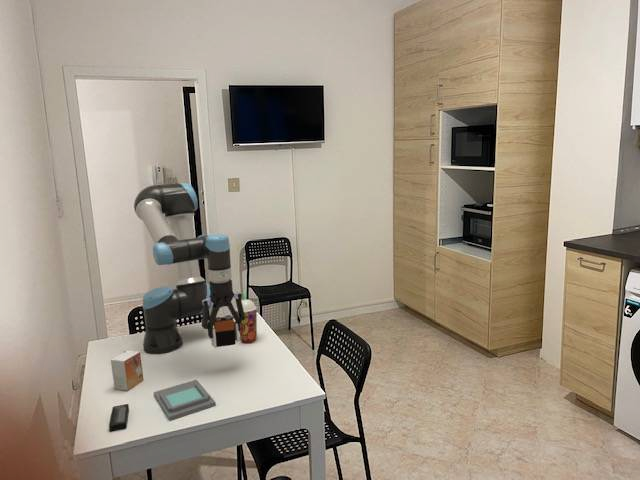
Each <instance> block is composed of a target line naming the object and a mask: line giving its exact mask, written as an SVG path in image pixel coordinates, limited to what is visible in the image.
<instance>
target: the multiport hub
mask: <svg viewBox="0 0 640 480" xmlns="http://www.w3.org/2000/svg"><path fill="white" fill-rule="evenodd" d="M129 414H130V406H129V403H126V404H120V405H115V406H112V409H111V414H110V419H109V422H108V423H109V424H108V427H109V432H110V433H111V432H116V431H121V430H126V429H127V427H128V423H129Z"/></svg>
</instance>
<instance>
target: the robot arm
mask: <svg viewBox="0 0 640 480" xmlns="http://www.w3.org/2000/svg"><path fill="white" fill-rule="evenodd" d="M133 208H134V212H135V215H136V216H137V217H138V218H139V219H140V220H141V221H142V222H143V223H144V226H145V227H146V230H147V232H148V233H149V235H150V237H151V238H152V239H151V240H152V241H153V243H154V244H153V246H152V254H153V255H152V256H153V259H154V262H155V264H156V265H158V266H165V265H168V266H169V265H174V264H176V269H177V274H178V281H177V282H176V284H175V286H176V288H175V289H174V288H172V287H171V286H164V287H163V286H160V287H156V288H153V289H150V290H149V291H147V292H146V293H145V294H143V296H142V309H143V316H144V324H145V335H144V338H143V343H142V346H143V351H144V353H146V354H150V355H151V354H152V355H159V354H160V355H161V354H166V353H171V352H174V351H176V350H178V349H180V348H181V347H182V346H183V344H184V341H183V336H182V334H181V332H180V330H179V328H178V326H177V319H181V318H187V317H191V316H194V315H201V314H202V317H201V327H202V328H203V329H204V330H207V336H208V338H209V339H210V340H211V346H212V347H213V348H218V347H217V346H216V334H215V329H214V323H215V319H216V317H218V316H217V315H218V312H219V311H220V309H221V308H224V307H227V308H228V310H229V312H230V314H231V316H232V317H233V319H234V329H235V342H237V343H238V342H240V335H239V331H240V330H241V327H240V323H241V321H242V320H245V315H244V310H243V306H242V298H243V297H242V296H243V294H242V293H240V292H238V291H237V292H234V290H233V289H234V287H233V280H232V278H233V277H232V267H231V266H232V265H231V264H232V262H231V244H230V240H229V235H227V234H224V233H213V234H201V235H198V236H197V237H195V233H194V228H193V221H192V218H193V217H194V216H195V211H197V209H198V208H199V206H198V197H197V194H196V191H195V189H194V188H193V186H192V185H191V184H190V183H186V182H184V183H183V182H182V183H181V182H178V183H165V184H153V185H150V186H147V187H145V188H143V189H142V190H140V191H139V193H137V196H136V198H135V199H134V204H133ZM203 259H204V260H205V259H207V260H206V261H207V268H208V280H209V283H207V282H206V279H204V278H203V277H202V276H201V272H200V265H199V260H203ZM233 299H235V303H236V308H237V309H238V313H239V317H238V315H237V313H236V308H235V307H234V305H233V303H232V300H233ZM211 308H212V309H211ZM209 310H211V312H210V311H209ZM209 313H210V315H209Z"/></svg>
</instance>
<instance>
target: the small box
mask: <svg viewBox="0 0 640 480" xmlns="http://www.w3.org/2000/svg"><path fill="white" fill-rule="evenodd" d="M141 356H142V355H141V351H135V350H129V349H128V350H126V351H124V352H122V353H120V354H119V355H117V356H116V357H114V358H113V357H112V359H110V365H111V371H112V372H111V373H112V380H113V387H114V389H115V390H121V391H126V392H127V391H129V390H131V389H133V388H134V387H135V386H137V385H138V384H140V383H142V382H143V381H144V374H143V373H144V372H143V364H142V357H141Z"/></svg>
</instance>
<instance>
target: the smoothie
mask: <svg viewBox="0 0 640 480" xmlns="http://www.w3.org/2000/svg"><path fill="white" fill-rule="evenodd" d="M243 296H244V298H243V299H241V301H242V306H243V310H244V315H245V320H242V321H241V323H240V327H241V330H240V331H238V333H239V340H240V341H241V342H242V343H245V344H250V343H254V342H255V341H256V340H257V337H258V336H257V335H258V330H257V328H258V325H257V324H258V323H257V319H258V318H257V316H258V315H257V309H258V307H257V306H256V303H254V301H253V300H251V299H247V294H246V292H244V293H243ZM235 311H236V313H237V315H238V317H239V313H238V309H237V307H236V308H235Z"/></svg>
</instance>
